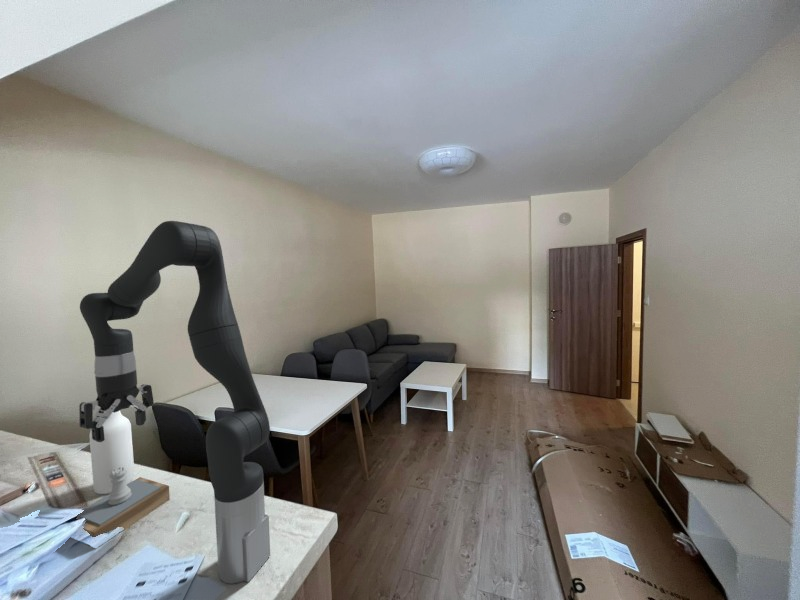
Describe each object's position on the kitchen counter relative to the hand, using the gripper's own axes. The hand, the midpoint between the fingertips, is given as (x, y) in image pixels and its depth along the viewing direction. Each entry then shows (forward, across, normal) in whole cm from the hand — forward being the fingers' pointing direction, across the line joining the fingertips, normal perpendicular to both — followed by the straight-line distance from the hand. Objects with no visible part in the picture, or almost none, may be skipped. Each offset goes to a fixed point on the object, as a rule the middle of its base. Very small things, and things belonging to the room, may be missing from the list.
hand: (121, 432), depth 75 cm
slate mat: (+18, -1, +1) cm, 18 cm away
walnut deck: (+22, -1, +1) cm, 22 cm away
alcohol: (+22, +6, +17) cm, 29 cm away
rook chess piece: (+18, -1, +1) cm, 18 cm away
